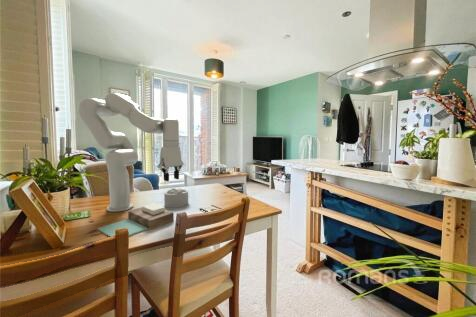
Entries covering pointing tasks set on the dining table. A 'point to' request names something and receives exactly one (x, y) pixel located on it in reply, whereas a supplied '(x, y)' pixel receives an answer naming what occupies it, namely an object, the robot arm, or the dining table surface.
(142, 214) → the block
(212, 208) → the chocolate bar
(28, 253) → the dining table surface
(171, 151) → the robot arm
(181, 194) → the lumpy-topped squat cylinder
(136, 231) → the mat
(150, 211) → the tile
